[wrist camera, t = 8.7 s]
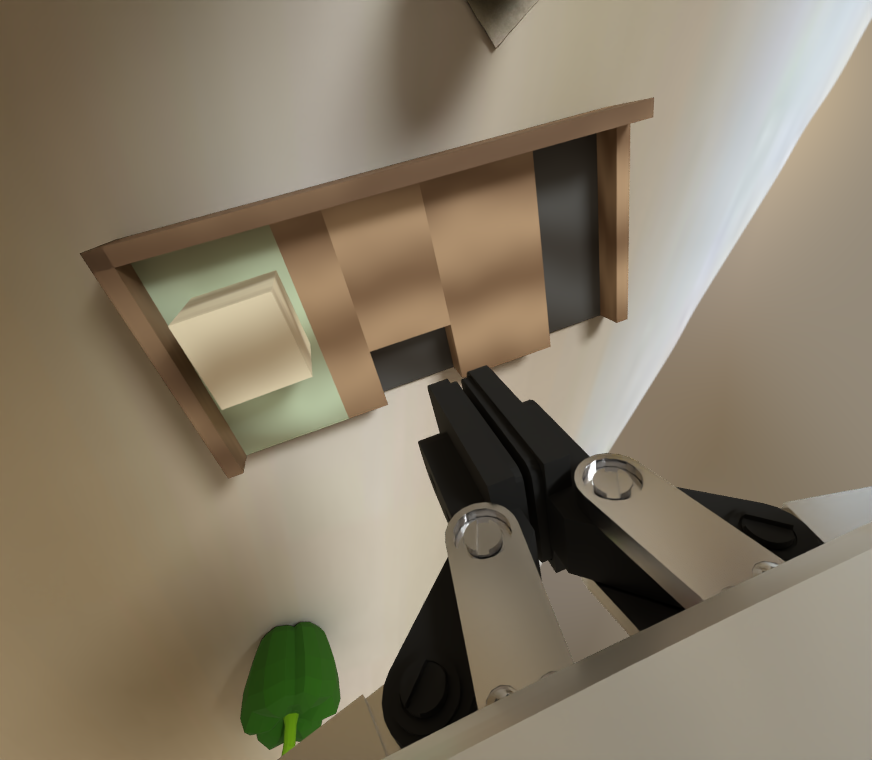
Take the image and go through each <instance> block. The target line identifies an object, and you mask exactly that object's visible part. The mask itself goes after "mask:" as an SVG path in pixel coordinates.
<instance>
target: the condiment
mask: <svg viewBox="0 0 872 760" xmlns="http://www.w3.org/2000/svg"><path fill="white" fill-rule="evenodd" d="M537 1H538V0H467V2H468V3H469V5H470V6H471V8H472V10H473V12H474V14H475V15H476V17H477V18H478V20H479V21H480V23H481V24H482V26H483V27H484V29H485V30H486V32H487V33H488V35H489V37H490V39H491V41H492V42H493V44H494V46H495V47H497V46H498V45H499V44H500V43H501V42H502V41H503V39H504V38H505V37H506V36H507V35H508V34H509V32H510V31H511V30H512V29H513V28H514V27H515V26H516V25H517V23H518V22H519V21H520V20H521V19H522V18H523V17H524V16H525V14H526V13H527V12H528V11H529V10H530V9H531V7H532V6H533V5H534V4H535V3H536V2H537Z"/></svg>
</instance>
